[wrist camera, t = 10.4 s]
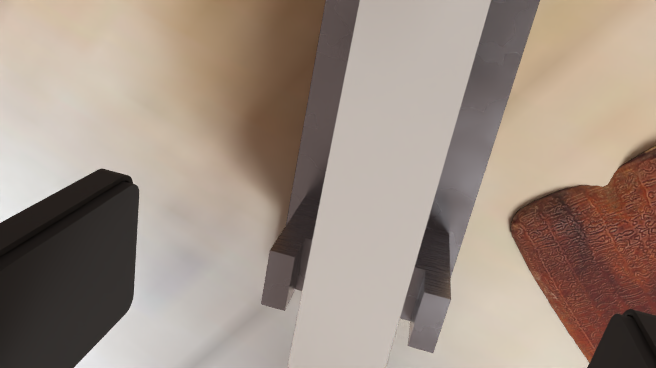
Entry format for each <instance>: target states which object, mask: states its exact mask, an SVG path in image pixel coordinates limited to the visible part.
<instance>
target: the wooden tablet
mask: <svg viewBox="0 0 656 368" xmlns="http://www.w3.org/2000/svg"><path fill="white" fill-rule="evenodd" d="M511 231H512V236H513V238H514V240H515V242H516V244H517V246H518V248H519V250H520V252H521V254H522V255H523V257H524V259H525V262H526V264H527V266H528V268H529V270H530V271H531V273H532V275H533V277H534V278H535V280H536V282H537V283H538V285H539V286H540V288H541V290H542V291H543V293H544V295H545V296H546V298H547V299H548V300H549V303H550V305H551V306H552V308H553V309H554V311H555V312H556V313H557V315H558V317H559V318H560V320H561V322H562V323H563V325H564V326H565V327H566V329H567V331H568V333H569V334H570V335H571V336H572V338H573V339H574V340H575V342H576V344H577V345H578V347H579V348H580V350H581V351H582V353H583V354H584V355H585V357H586V358H587V360H588V361H589V363H590V361H591V359H592V357H593V355H594V353H595V351H596V348H597V346H598V344H599V342H600V340H601V338H602V336H603V334H604V332H605V329H606V327H607V325H608V323H609V321H610V319H611V318H612V316H613V315H614V314H617V313H618V314H621V315H622V314H623V313H624V312H625V311H626V310H628V309H633V310H637V311H641V312H644V313H648V314H652V315H656V146H655V147H653V148H651V149H649V150H647V151H645V152H643V153H642V154H640V155H638V156H637V157H635V158H633V159H631V160H630V161H629V162H627V163H625V164H623V165H622V166H621V167H620V168H619V169H618V170H617V171H616V172H615V173H614V175H613V177H612V178H611V180H610V182H609V184H608V185H606V186H604V187H601V186H590V185H585V186H577V187H571V188H567V189H563V190H560V191H557V192H555V193H553V194H550V195H547V196H545V197H543V198H541V199H539V200H536V201H534V202H532V203H530V204H529V205H527V206H525V207H524V208H522V209H520V210H519V211H518V212H517V213H516V215H515V216H514V219H513V221H512V224H511Z"/></svg>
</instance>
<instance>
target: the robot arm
mask: <svg viewBox="0 0 656 368" xmlns="http://www.w3.org/2000/svg"><path fill="white" fill-rule="evenodd" d="M138 205H139V189H138V186H137V185H135V184H133V182H132V178H131V177H130V176H128V175H124V174H121V173H117V172H113V171H109V170H105V169H99V170H97V171H95V172H93V173H91V174H89V175H88V176H86V177H84V178H82V179H80V180H78V181H77V182H75V183H73V184H71V185H69V186H67V187H66V188H64V189H62V190H60V191H58V192H56V193H55V194H53V195H51V196H49V197H47V198H45V199H43V200H42V201H40V202H38V203H36V204H34V205H32V206H31V207H29V208H27V209H25V210H23V211H21V212H20V213H18V214H16V215H14V216H12V217H10V218H8V219H7V220H5V221H3V222H1V223H0V368H74V367H75V366H76V365H77V364H78V363H79V362H80V361H81V359H82V358H83V357H84V356H85V355H86V354H87V353H88V352H89V351H90V350H91V349H92V348H93V347H94V346H95V345H96V344H97V343H98V342H99V341H100V340H101V339H102V338H103V337H104V336H105V335H106V334H107V333H108V331H109V330H110V329H111V328H112V327H113V326H114V325H115V324H116V323H117V322H118V321H119V320H120V319H121V318H122V317H123V316H124V315H125V314H126V313H127V311H128V310H129V308H130V306H131V303H132V300H133V295H134V278H135V259H136V241H137V223H138ZM587 368H656V315H652V314H648V313H644V312H641V311H637V310H633V309H628V310H626V311H625V312H624V313H623V314H622V315H621V314H618V313H617V314H614V315H613V316H612V318H611V319H610V321H609V323H608V325H607V327H606V329H605V332H604V334H603V336H602V338H601V340H600V342H599V344H598V346H597V348H596V351H595V353H594V355H593V357H592V359H591V361H590V363H589V365H588V367H587Z"/></svg>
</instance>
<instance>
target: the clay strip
mask: <svg viewBox="0 0 656 368" xmlns="http://www.w3.org/2000/svg"><path fill="white" fill-rule="evenodd" d="M490 2H491V0H360V2H359V7H358V12H357V17H356V23H355V28H354V33H353V38H352V43H351V48H350V53H349V58H348V63H347V68H346V73H345V78H344V83H343V88H342V93H341V98H340V103H339V108H338V113H337V118H336V123H335V129H334V134H333V139H332V144H331V149H330V154H329V159H328V164H327V169H326V174H325V179H324V184H323V189H322V194H321V199H320V204H319V209H318V214H317V219H316V224H315V230H314V235H313V240H312V245H311V250H310V255H309V260H308V265H307V270H306V275H305V280H304V285H303V290H302V295H301V300H300V305H299V310H298V315H297V320H296V325H295V330H294V336H293V341H292V346H291V351H290V356H289V361H288V366H287V368H386V365H387V361H388V358H389V354H390V351H391V347H392V344H393V340H394V337H395V333H396V330H397V326H398V323H399V319H400V316H401V312H402V309H403V305H404V302H405V298H406V295H407V291H408V288H409V285H410V281H411V278H412V274H413V271H414V267H415V264H416V260H417V257H418V253H419V250H420V246H421V243H422V239H423V236H424V232H425V229H426V225H427V222H428V218H429V215H430V211H431V208H432V204H433V201H434V197H435V194H436V190H437V187H438V184H439V180H440V177H441V173H442V170H443V166H444V163H445V159H446V156H447V152H448V149H449V145H450V142H451V138H452V135H453V131H454V128H455V124H456V121H457V117H458V114H459V110H460V107H461V103H462V100H463V96H464V93H465V89H466V86H467V83H468V79H469V76H470V72H471V69H472V65H473V62H474V58H475V55H476V51H477V48H478V44H479V41H480V37H481V34H482V30H483V27H484V23H485V20H486V16H487V13H488V9H489V6H490Z"/></svg>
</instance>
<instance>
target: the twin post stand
mask: <svg viewBox="0 0 656 368" xmlns="http://www.w3.org/2000/svg"><path fill="white" fill-rule="evenodd" d="M359 2H360V0H326V2H325V7H324V13H323V19H322V24H321V30H320V36H319V41H318V47H317V53H316V58H315V64H314V70H313V75H312V81H311V87H310V92H309V98H308V104H307V109H306V115H305V121H304V126H303V132H302V137H301V143H300V149H299V154H298V160H297V166H296V171H295V177H294V183H293V188H292V194H291V200H290V205H289V211H288V217H287V222H286V227H285V228H284V230H283V231H282V233H281V234H280V236H279V237H278V239H277V240H276V242H275V244H274V245H273V247H272V248H271V250H270V254H269V260H268V265H267V271H266V277H265V283H264V289H263V295H262V301H261V304H262V305H266V306H269V307H273V308H276V309H280V310H284V311H285V310H286V307H287V305H288V303H289V301H290V299H291V297H292V295H293V293H294V291H295V289H297V290H301V291H302V290H303V285H304V280H305V275H306V270H307V265H308V260H309V255H310V250H311V245H312V240H313V235H314V230H315V224H316V219H317V214H318V209H319V204H320V199H321V194H322V189H323V184H324V179H325V174H326V169H327V164H328V159H329V154H330V149H331V144H332V139H333V134H334V129H335V123H336V118H337V113H338V108H339V103H340V98H341V93H342V88H343V83H344V78H345V73H346V68H347V63H348V58H349V53H350V48H351V43H352V38H353V33H354V28H355V23H356V17H357V12H358V7H359ZM539 2H540V0H491V2H490V6H489V9H488V13H487V16H486V20H485V23H484V27H483V30H482V34H481V37H480V41H479V44H478V48H477V51H476V55H475V58H474V62H473V65H472V69H471V72H470V76H469V79H468V83H467V86H466V89H465V93H464V96H463V100H462V103H461V107H460V110H459V114H458V117H457V121H456V124H455V128H454V131H453V135H452V138H451V142H450V145H449V149H448V152H447V156H446V159H445V163H444V166H443V170H442V173H441V177H440V180H439V184H438V187H437V190H436V194H435V197H434V201H433V204H432V208H431V211H430V215H429V218H428V222H427V225H426V229H425V232H424V236H423V239H422V243H421V246H420V250H419V253H418V257H417V260H416V264H415V267H414V271H413V274H412V278H411V281H410V285H409V288H408V291H407V295H406V298H405V302H404V305H403V309H402V312H401V316H400V318H401V319H405V320H408V321H410V328H409V338H408V346H410V347H413V348H417V349H421V350H424V351H428V352H431V353H433V352H434V349H435V346H436V343H437V340H438V337H439V334H440V331H441V328H442V325H443V322H444V319H445V316H446V313H447V309H448V306H449V303H450V300H451V289H450V278H451V275H452V272H453V269H454V265H455V262H456V259H457V256H458V253H459V250H460V247H461V244H462V241H463V237H464V234H465V231H466V228H467V225H468V222H469V219H470V216H471V213H472V210H473V206H474V203H475V200H476V197H477V194H478V191H479V188H480V185H481V182H482V179H483V175H484V172H485V169H486V166H487V163H488V160H489V157H490V154H491V151H492V148H493V144H494V141H495V138H496V135H497V132H498V129H499V126H500V123H501V120H502V116H503V113H504V110H505V107H506V104H507V101H508V98H509V95H510V92H511V89H512V85H513V82H514V79H515V76H516V73H517V70H518V67H519V64H520V61H521V58H522V54H523V51H524V48H525V45H526V42H527V39H528V36H529V33H530V30H531V27H532V23H533V20H534V17H535V14H536V11H537V8H538V5H539Z"/></svg>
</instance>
